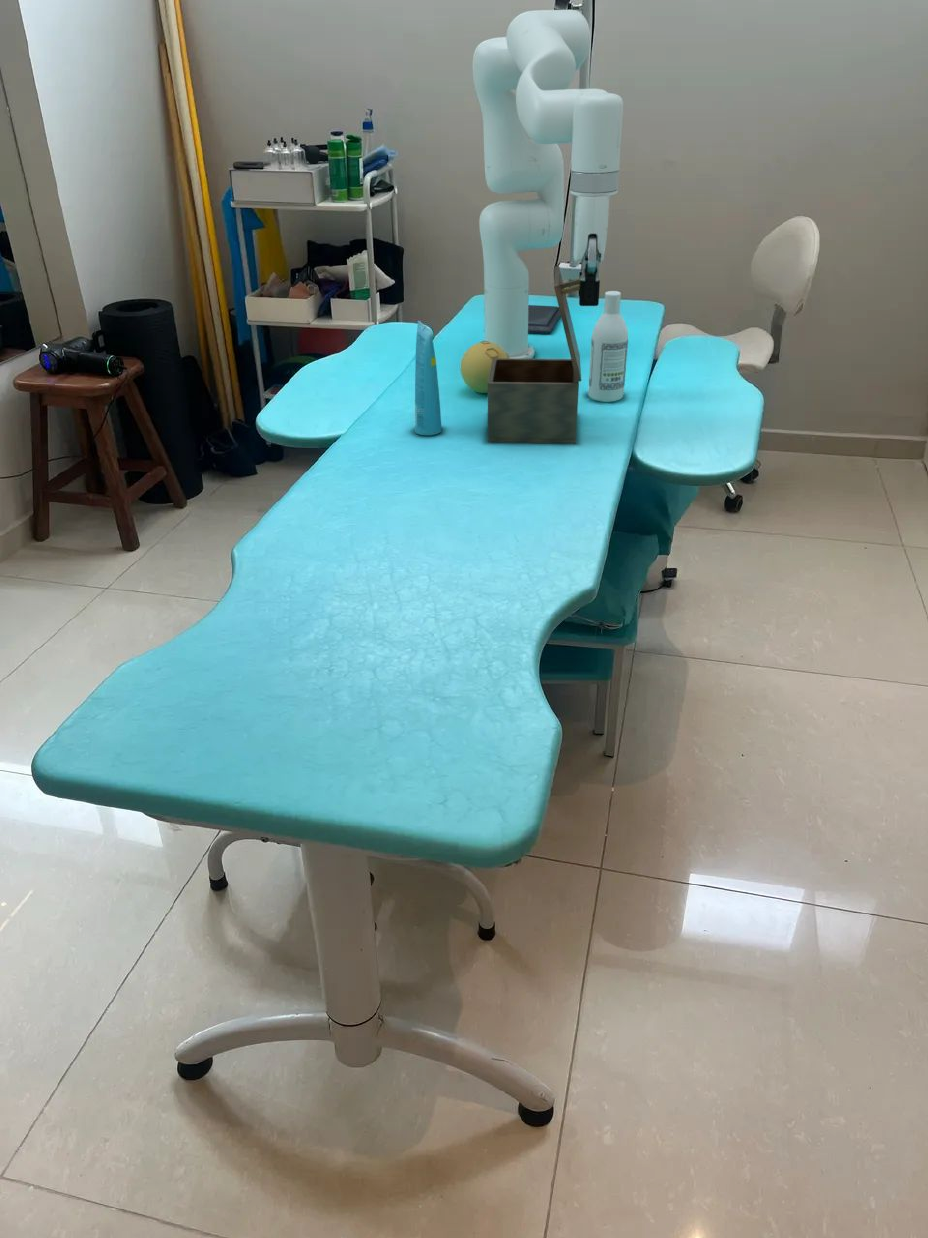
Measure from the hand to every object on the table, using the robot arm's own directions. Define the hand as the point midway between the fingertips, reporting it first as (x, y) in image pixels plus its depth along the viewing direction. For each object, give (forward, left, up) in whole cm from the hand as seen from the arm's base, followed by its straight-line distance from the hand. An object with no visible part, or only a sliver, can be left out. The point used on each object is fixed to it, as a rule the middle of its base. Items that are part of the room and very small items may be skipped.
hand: (588, 299), depth 155 cm
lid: (0, -4, -4) cm, 5 cm away
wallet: (-69, -12, -23) cm, 74 cm away
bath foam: (-17, +5, -23) cm, 29 cm away
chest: (0, -9, -23) cm, 25 cm away
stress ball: (-19, -19, -23) cm, 36 cm away
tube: (+2, -28, -23) cm, 36 cm away
